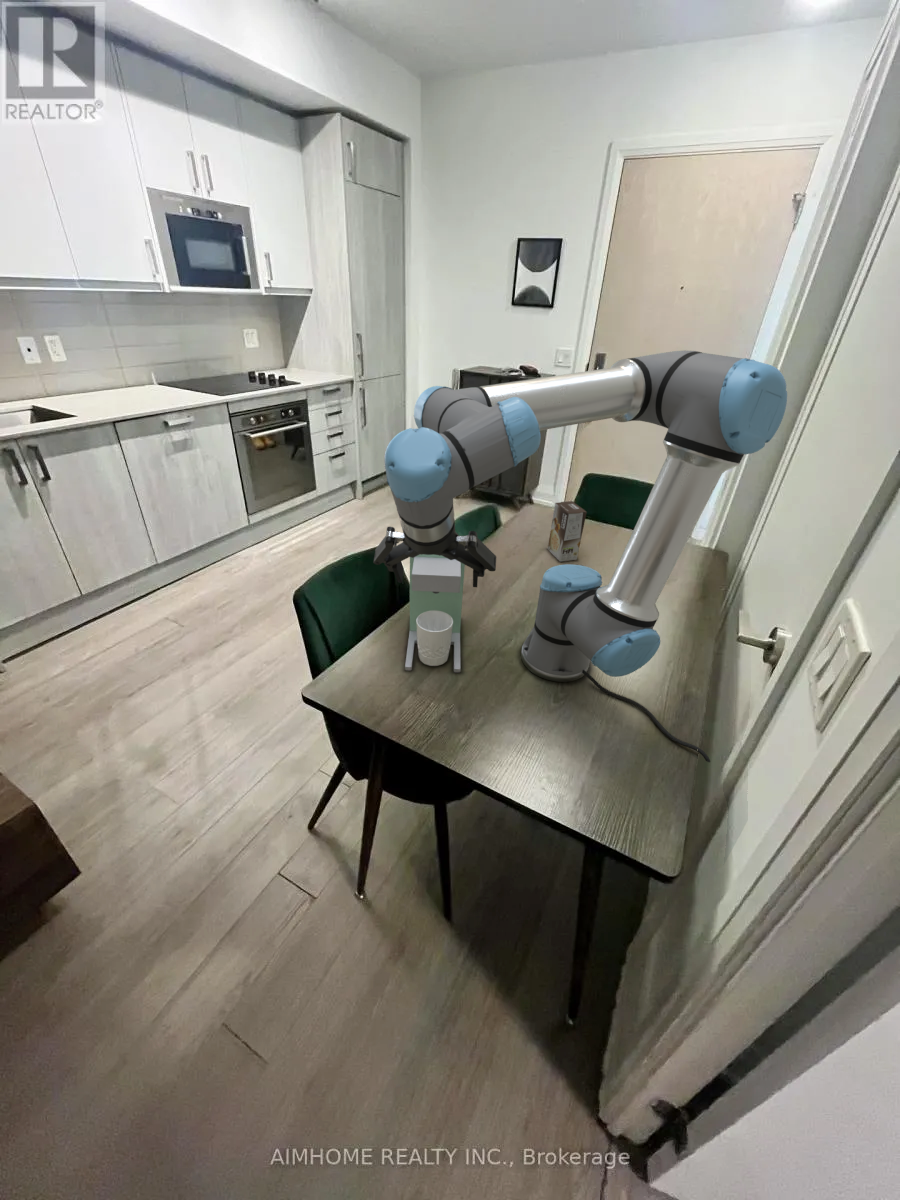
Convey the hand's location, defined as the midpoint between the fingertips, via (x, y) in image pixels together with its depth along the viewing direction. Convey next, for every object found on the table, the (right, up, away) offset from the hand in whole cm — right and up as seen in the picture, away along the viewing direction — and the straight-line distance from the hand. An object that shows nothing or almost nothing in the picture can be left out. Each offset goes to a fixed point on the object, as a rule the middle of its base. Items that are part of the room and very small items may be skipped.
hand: (437, 577), depth 88 cm
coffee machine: (-2, -14, +26) cm, 30 cm away
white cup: (-2, -17, +22) cm, 28 cm away
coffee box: (+38, +10, +67) cm, 78 cm away
